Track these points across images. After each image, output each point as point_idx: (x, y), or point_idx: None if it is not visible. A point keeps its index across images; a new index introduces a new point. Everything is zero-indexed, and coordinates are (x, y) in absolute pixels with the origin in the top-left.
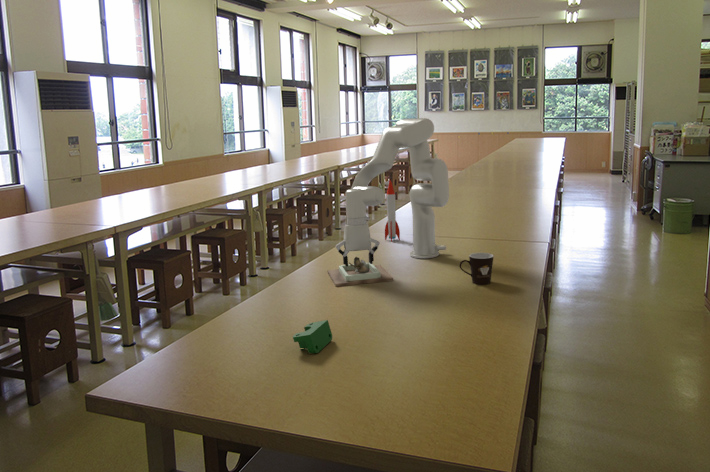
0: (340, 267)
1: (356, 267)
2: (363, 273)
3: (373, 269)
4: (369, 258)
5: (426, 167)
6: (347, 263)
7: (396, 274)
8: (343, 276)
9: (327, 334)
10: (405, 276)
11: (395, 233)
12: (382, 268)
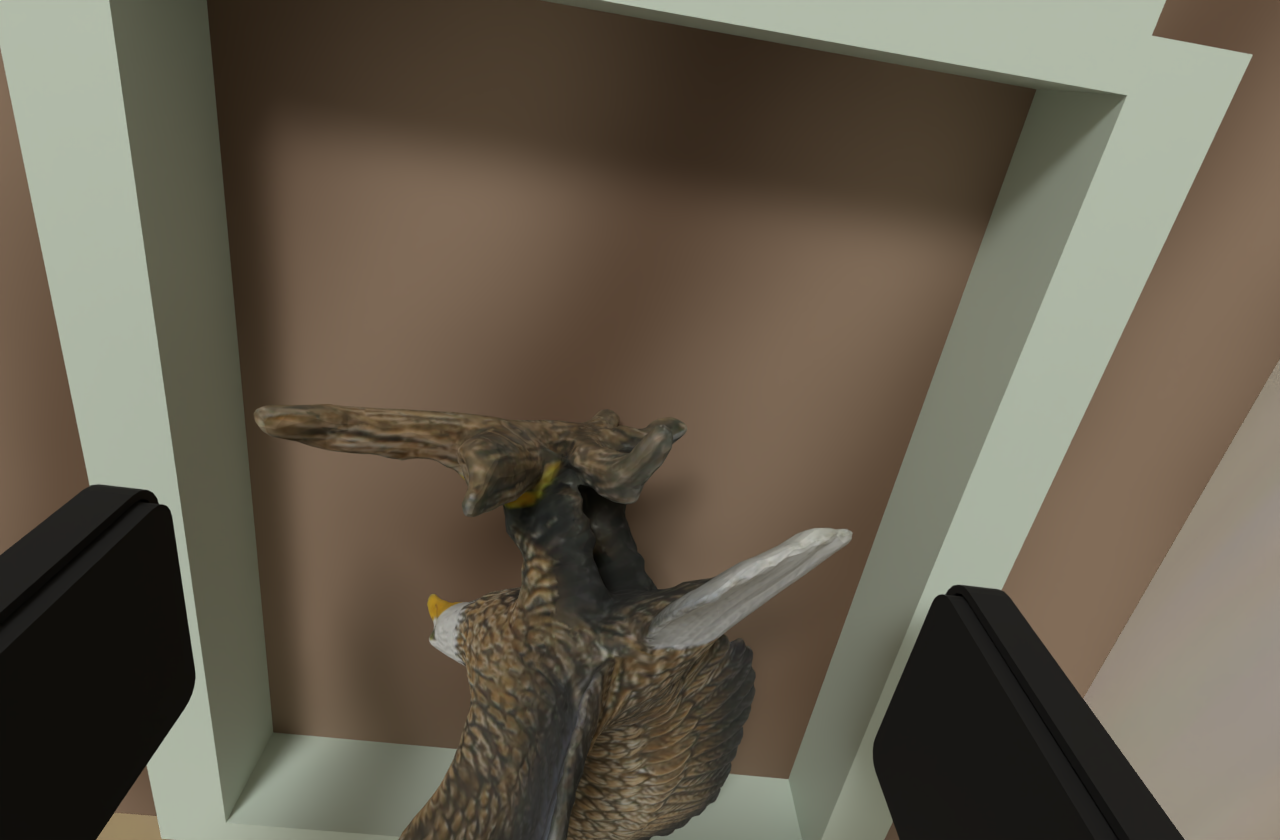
0: (41, 118)
1: (466, 668)
2: (675, 489)
3: (889, 634)
4: (966, 791)
5: None
6: (124, 777)
7: (1223, 633)
8: None
9: None
10: (1236, 767)
11: None
12: (1267, 325)
